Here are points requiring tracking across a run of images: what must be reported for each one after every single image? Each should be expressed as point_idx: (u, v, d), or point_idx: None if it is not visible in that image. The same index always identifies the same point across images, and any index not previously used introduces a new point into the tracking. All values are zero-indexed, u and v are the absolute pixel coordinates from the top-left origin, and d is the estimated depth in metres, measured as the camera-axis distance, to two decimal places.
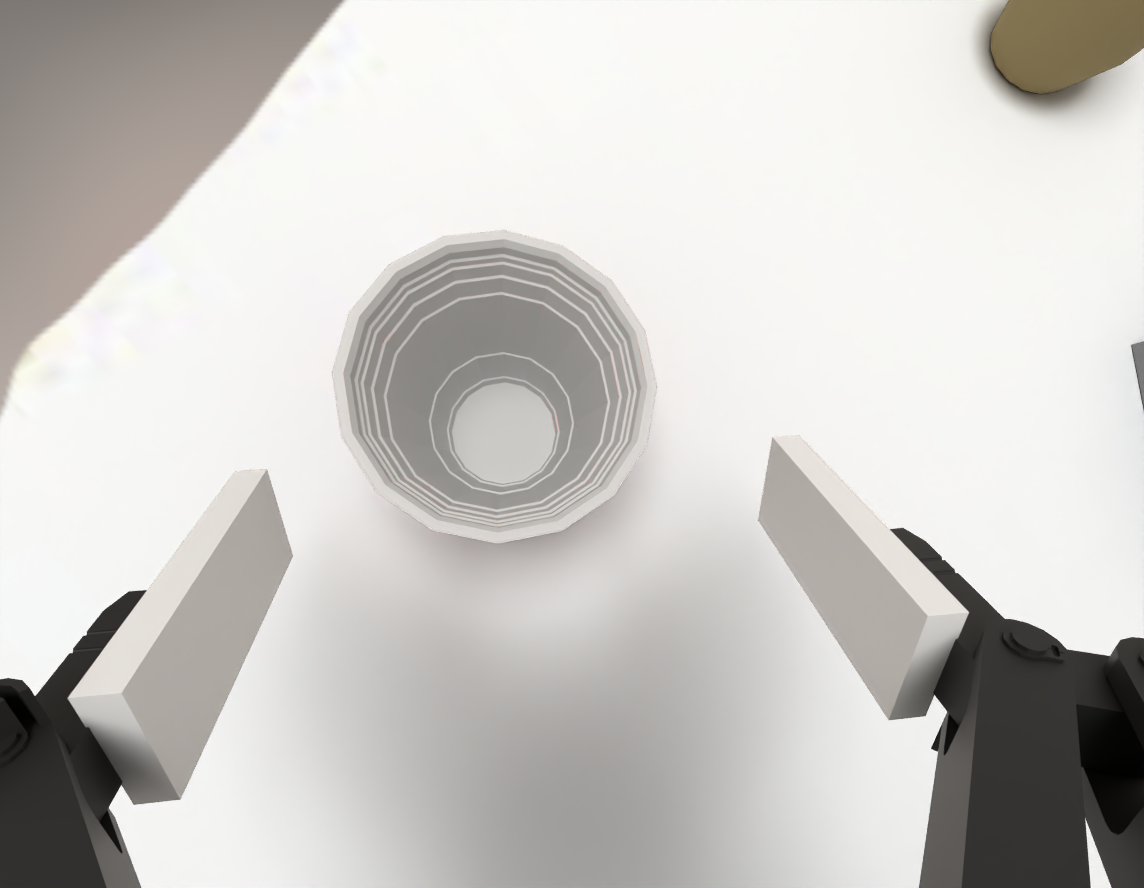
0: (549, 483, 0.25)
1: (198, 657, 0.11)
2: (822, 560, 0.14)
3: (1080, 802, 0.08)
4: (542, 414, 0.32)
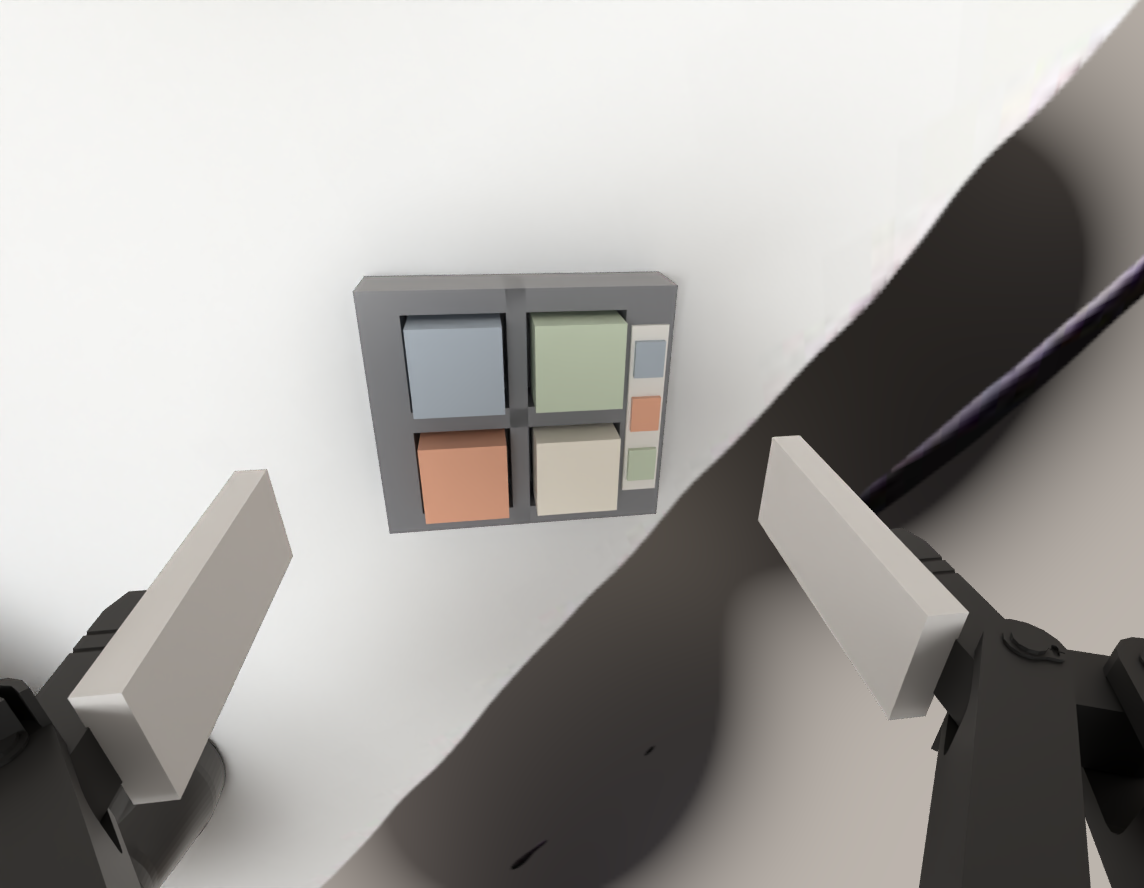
0: None
1: (198, 657, 0.11)
2: (823, 561, 0.14)
3: (1080, 802, 0.08)
4: None
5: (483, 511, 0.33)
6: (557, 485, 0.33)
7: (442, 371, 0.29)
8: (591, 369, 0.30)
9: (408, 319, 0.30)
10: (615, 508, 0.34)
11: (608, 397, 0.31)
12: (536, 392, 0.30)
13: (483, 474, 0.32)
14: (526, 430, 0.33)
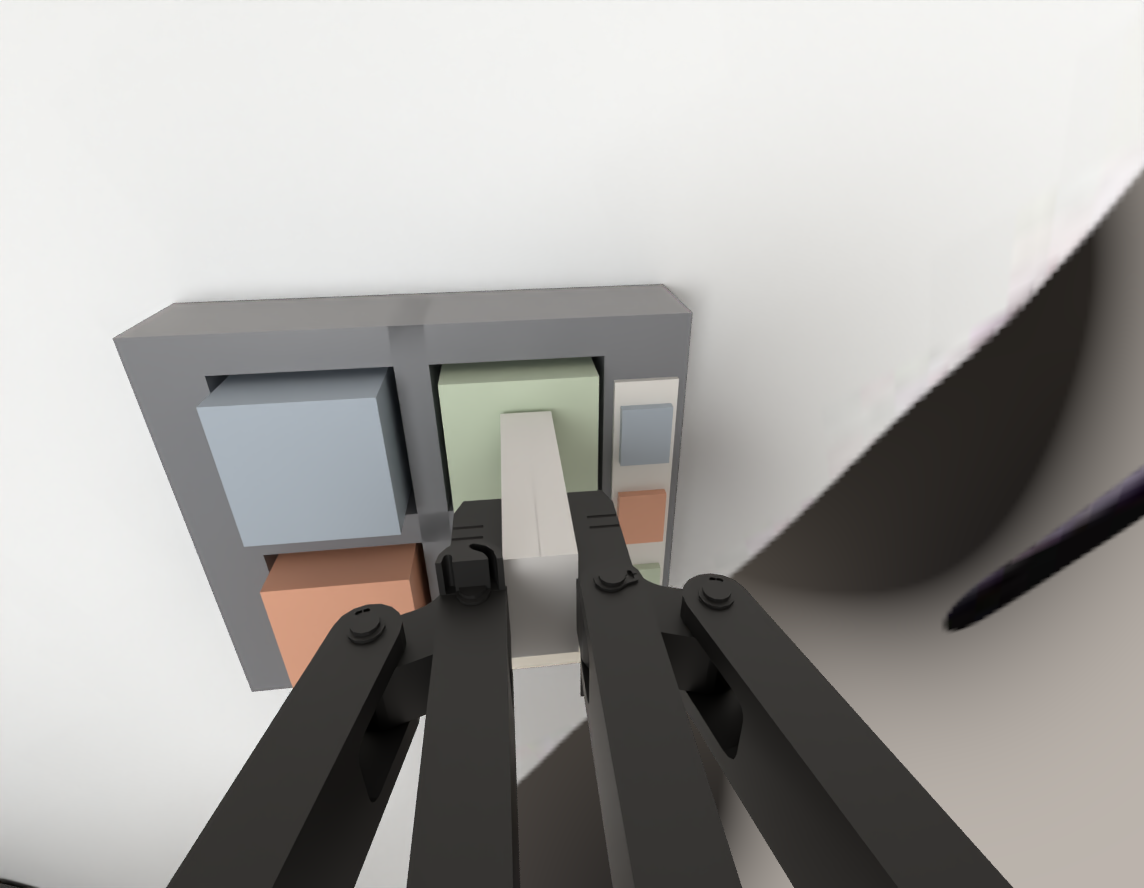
0: None
1: None
2: None
3: (678, 696, 0.09)
4: None
5: None
6: None
7: (281, 472, 0.17)
8: None
9: (226, 380, 0.17)
10: None
11: (573, 491, 0.19)
12: (452, 487, 0.19)
13: None
14: (449, 545, 0.21)
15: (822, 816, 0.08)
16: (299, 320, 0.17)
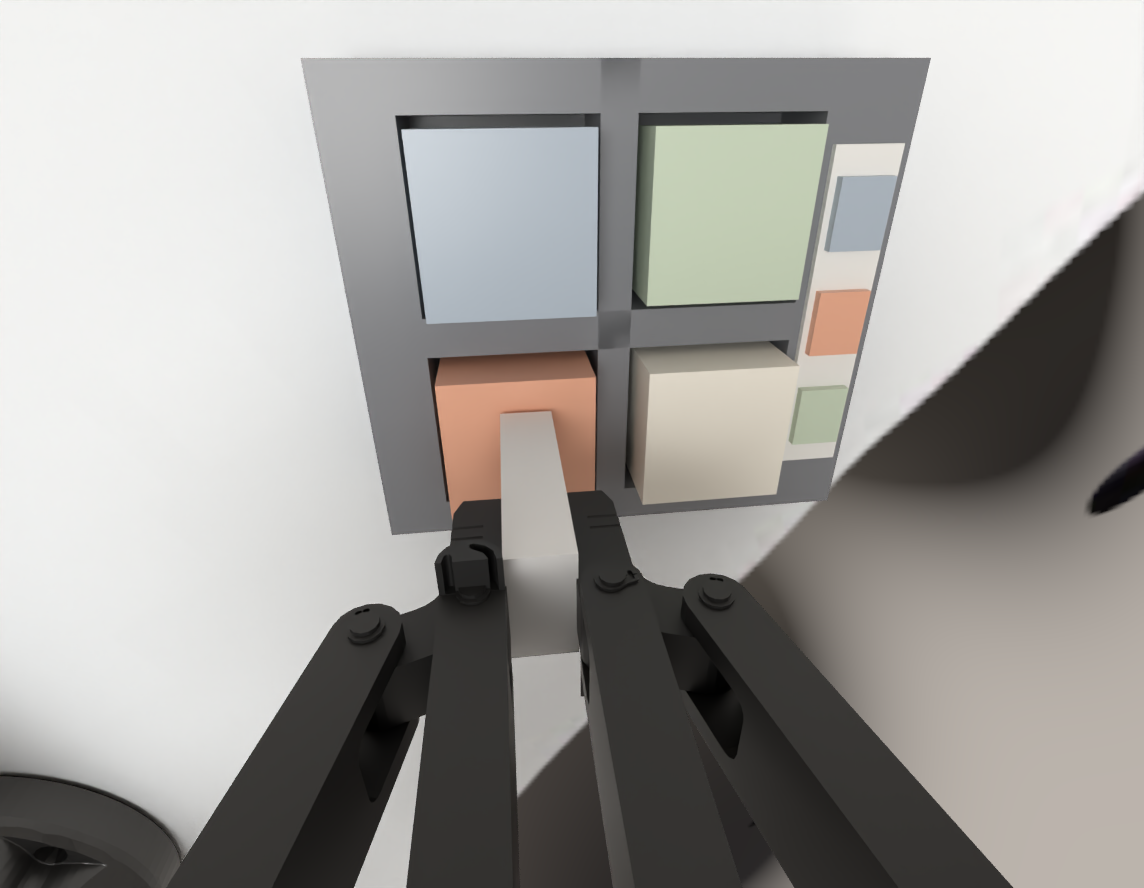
0: None
1: None
2: None
3: (680, 696, 0.09)
4: None
5: None
6: (681, 451, 0.19)
7: (480, 224, 0.15)
8: (752, 219, 0.16)
9: (413, 128, 0.15)
10: (774, 491, 0.20)
11: (776, 277, 0.17)
12: (649, 266, 0.17)
13: None
14: (625, 354, 0.19)
15: (822, 818, 0.08)
16: None
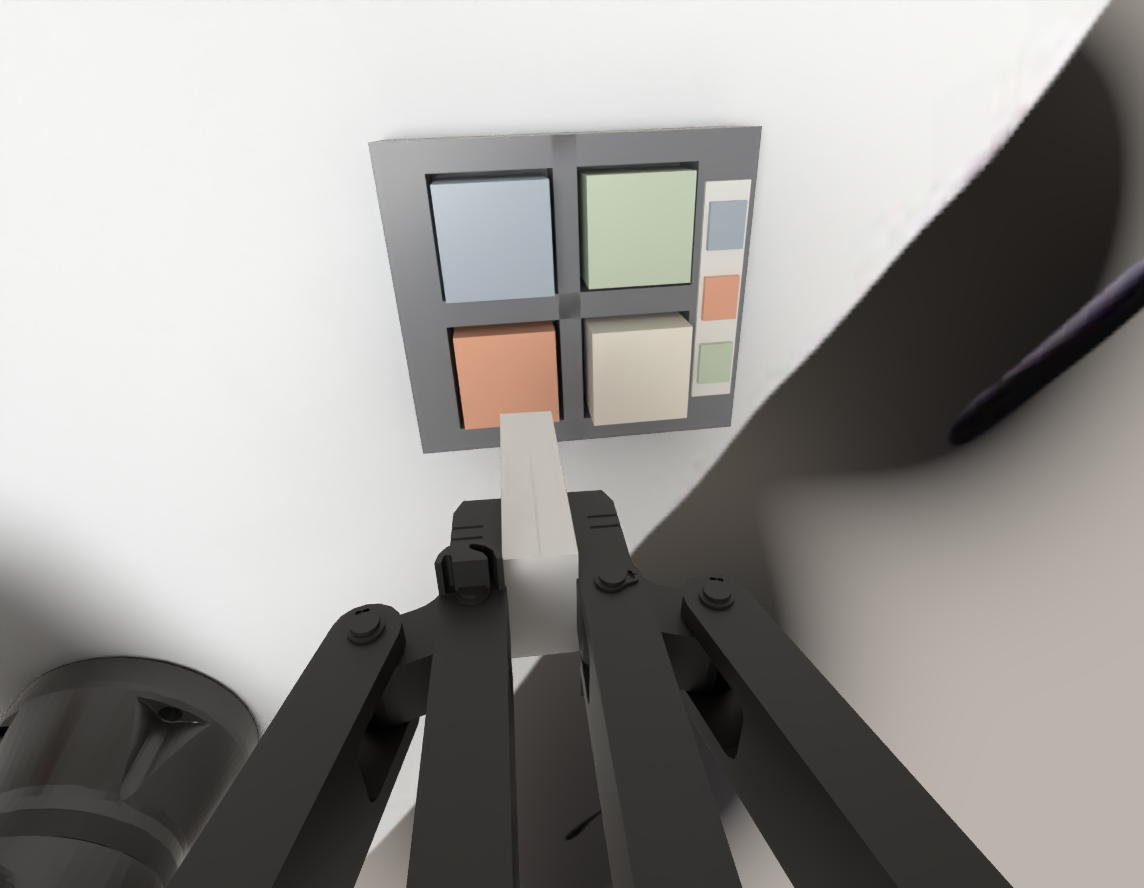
0: None
1: None
2: None
3: (679, 696, 0.09)
4: None
5: None
6: (617, 387, 0.28)
7: (479, 240, 0.24)
8: (653, 231, 0.26)
9: (435, 180, 0.25)
10: (685, 415, 0.29)
11: (673, 268, 0.26)
12: (588, 263, 0.26)
13: (528, 368, 0.28)
14: (578, 322, 0.28)
15: (822, 817, 0.08)
16: (485, 137, 0.25)
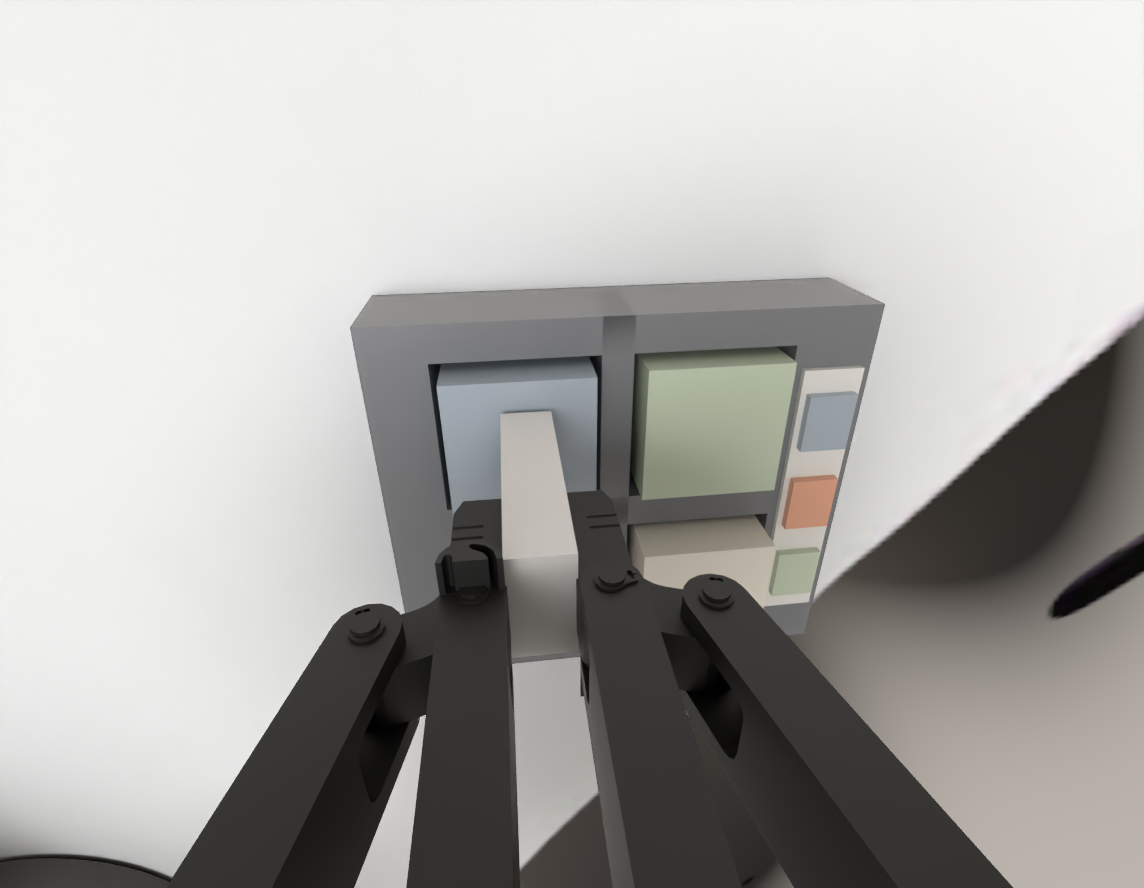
0: None
1: None
2: None
3: (679, 696, 0.09)
4: None
5: None
6: None
7: (500, 448, 0.18)
8: (733, 434, 0.19)
9: (443, 363, 0.18)
10: None
11: (754, 474, 0.20)
12: (644, 470, 0.19)
13: None
14: (624, 529, 0.21)
15: (822, 817, 0.08)
16: (512, 311, 0.18)
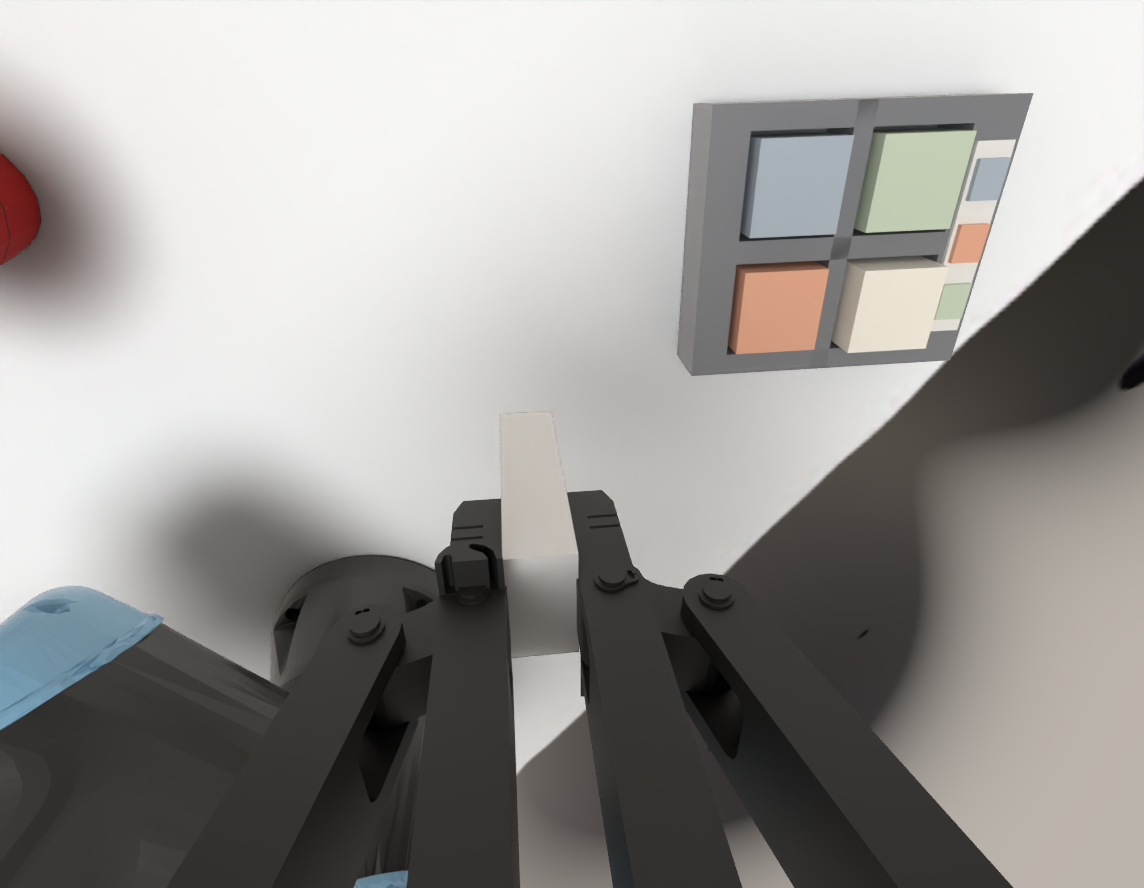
0: None
1: None
2: None
3: (679, 696, 0.09)
4: None
5: (791, 341, 0.34)
6: (875, 319, 0.33)
7: (788, 185, 0.30)
8: (929, 183, 0.30)
9: None
10: (924, 346, 0.34)
11: (938, 215, 0.31)
12: (870, 209, 0.31)
13: (800, 301, 0.33)
14: (844, 262, 0.33)
15: (822, 817, 0.08)
16: None
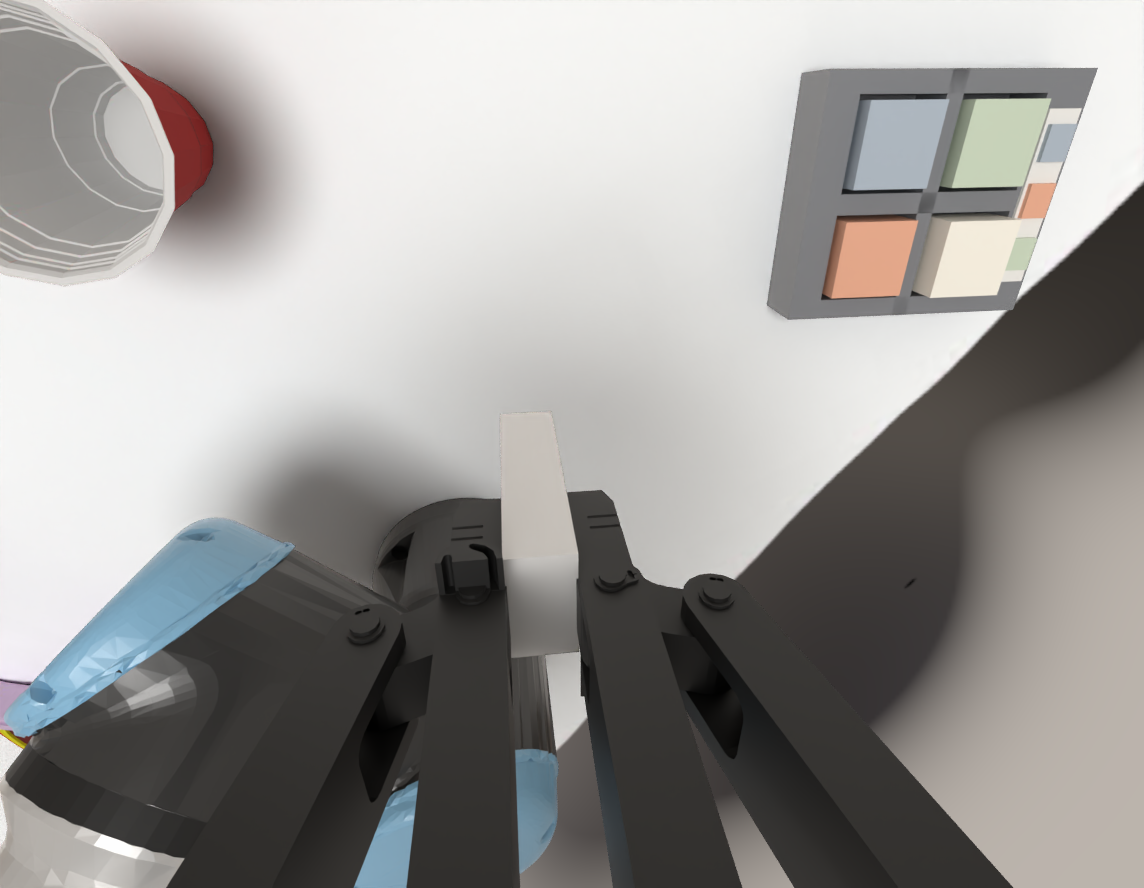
0: None
1: None
2: None
3: (679, 696, 0.09)
4: None
5: (880, 287, 0.38)
6: (956, 266, 0.37)
7: (890, 142, 0.34)
8: (1009, 144, 0.35)
9: None
10: (996, 293, 0.38)
11: (1014, 174, 0.36)
12: (957, 167, 0.35)
13: (891, 249, 0.37)
14: (929, 216, 0.37)
15: (822, 818, 0.08)
16: None
